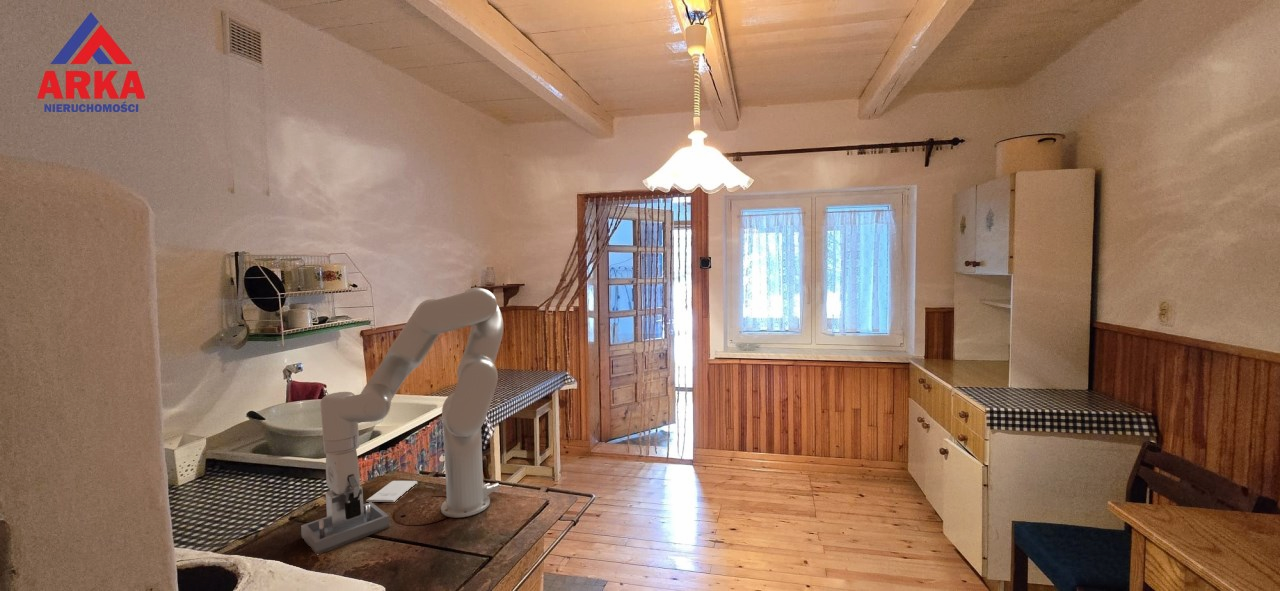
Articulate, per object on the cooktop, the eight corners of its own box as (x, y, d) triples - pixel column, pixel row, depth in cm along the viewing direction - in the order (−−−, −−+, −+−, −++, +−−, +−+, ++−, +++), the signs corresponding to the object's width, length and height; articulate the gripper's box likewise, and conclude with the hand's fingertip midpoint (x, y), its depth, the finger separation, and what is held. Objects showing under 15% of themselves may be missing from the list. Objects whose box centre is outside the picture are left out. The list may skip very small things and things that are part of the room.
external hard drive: (417, 486, 151) (393, 505, 139) (392, 485, 152) (366, 504, 140) (417, 480, 151) (393, 499, 139) (391, 480, 152) (365, 499, 140)
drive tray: (371, 512, 134) (370, 494, 134) (389, 527, 126) (388, 508, 126) (301, 537, 122) (300, 517, 122) (316, 555, 114) (315, 534, 114)
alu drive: (358, 521, 128) (356, 482, 127) (364, 526, 125) (362, 487, 125) (327, 532, 123) (325, 492, 122) (333, 537, 120) (330, 497, 119)
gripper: (313, 440, 126) (318, 506, 127) (336, 456, 114) (341, 528, 115) (346, 432, 131) (350, 495, 132) (371, 446, 120) (376, 515, 121)
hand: (346, 510), depth 124 cm, fingers open, 9 cm apart
